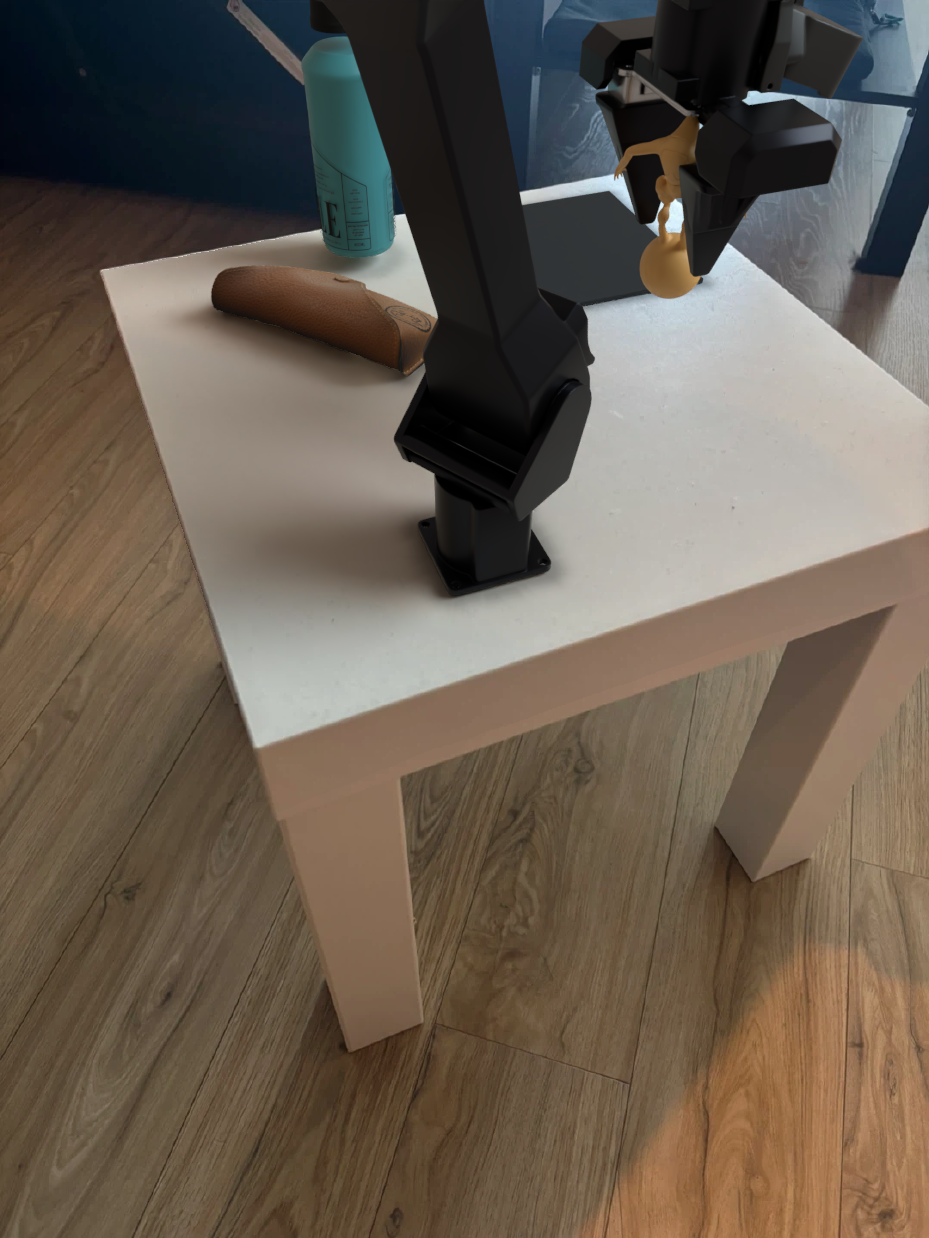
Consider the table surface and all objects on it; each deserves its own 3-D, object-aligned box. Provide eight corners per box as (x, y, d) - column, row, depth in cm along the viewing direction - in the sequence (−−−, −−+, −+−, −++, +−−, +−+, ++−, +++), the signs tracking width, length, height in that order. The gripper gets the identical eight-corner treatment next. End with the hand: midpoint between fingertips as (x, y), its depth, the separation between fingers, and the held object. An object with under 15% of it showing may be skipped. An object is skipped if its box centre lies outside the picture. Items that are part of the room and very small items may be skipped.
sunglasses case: (459, 324, 73) (435, 274, 67) (420, 402, 73) (392, 358, 66) (276, 267, 79) (238, 217, 73) (238, 339, 79) (197, 293, 72)
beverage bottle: (412, 252, 82) (401, -14, 68) (367, 284, 79) (345, 10, 64) (352, 233, 85) (329, -28, 70) (306, 264, 81) (271, -5, 66)
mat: (702, 283, 79) (703, 278, 79) (550, 312, 76) (550, 308, 75) (608, 194, 90) (609, 190, 90) (472, 217, 87) (472, 213, 87)
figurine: (736, 297, 61) (789, 106, 52) (702, 345, 58) (752, 150, 49) (620, 261, 64) (650, 71, 54) (581, 305, 60) (606, 112, 51)
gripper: (986, -20, 42) (874, 299, 54) (765, -109, 54) (712, 169, 65) (770, 5, 40) (701, 334, 51) (588, -93, 51) (565, 192, 63)
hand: (671, 248), depth 58 cm, fingers closed on figurine, 7 cm apart
